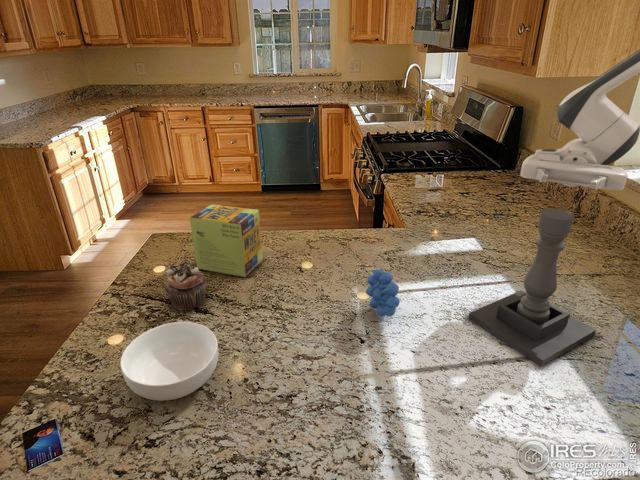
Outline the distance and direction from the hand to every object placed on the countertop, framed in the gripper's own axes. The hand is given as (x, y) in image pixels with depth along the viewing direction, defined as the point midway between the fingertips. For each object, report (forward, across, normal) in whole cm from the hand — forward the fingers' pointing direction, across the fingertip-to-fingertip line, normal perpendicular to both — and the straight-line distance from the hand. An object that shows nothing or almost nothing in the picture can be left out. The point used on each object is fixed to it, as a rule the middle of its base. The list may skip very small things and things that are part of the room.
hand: (568, 182), depth 89 cm
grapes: (+24, +29, -30) cm, 48 cm away
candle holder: (+12, 0, -28) cm, 31 cm away
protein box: (+26, +75, -29) cm, 85 cm away
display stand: (+12, 0, -29) cm, 32 cm away
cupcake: (+44, +71, -29) cm, 89 cm away
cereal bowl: (+64, +53, -30) cm, 88 cm away
